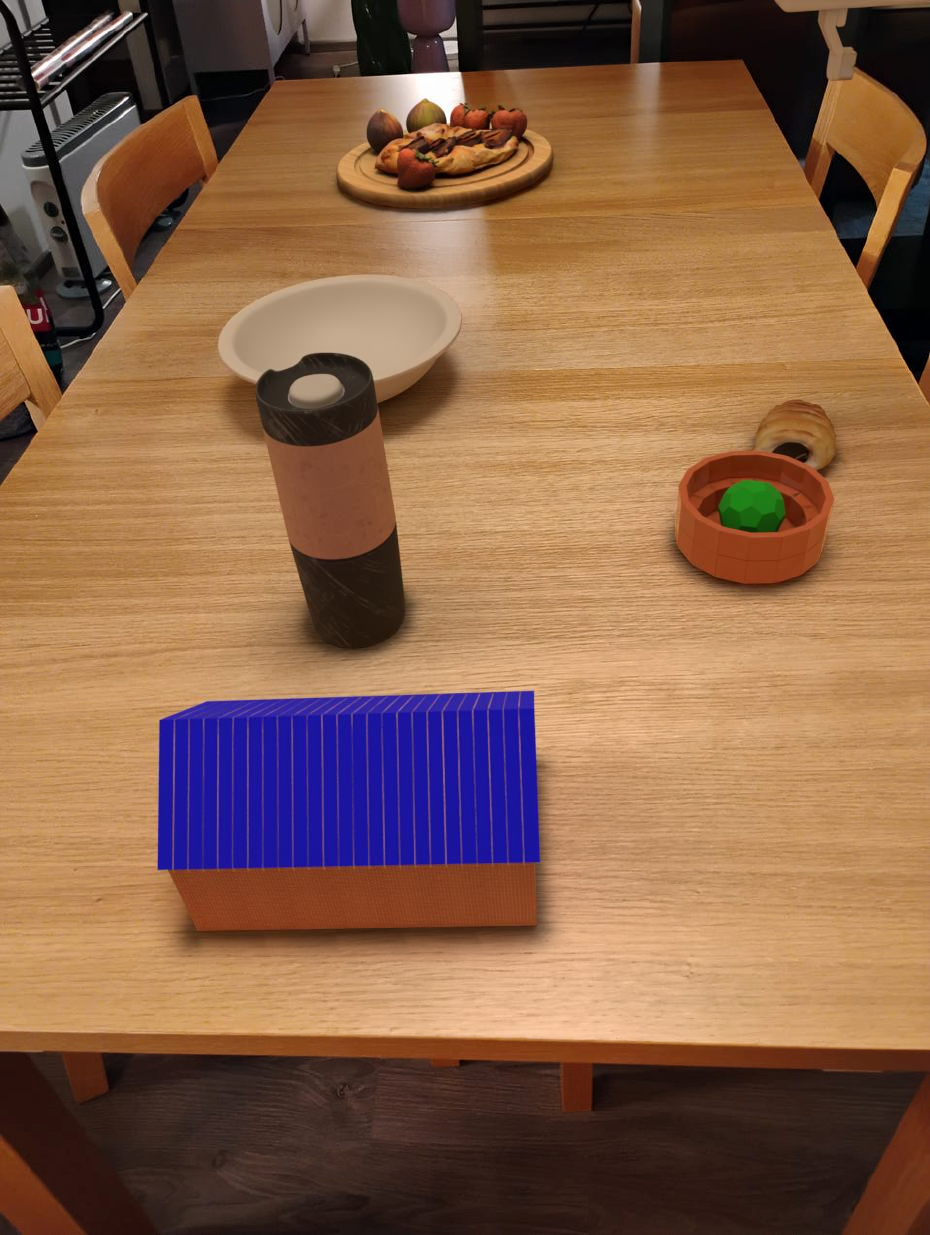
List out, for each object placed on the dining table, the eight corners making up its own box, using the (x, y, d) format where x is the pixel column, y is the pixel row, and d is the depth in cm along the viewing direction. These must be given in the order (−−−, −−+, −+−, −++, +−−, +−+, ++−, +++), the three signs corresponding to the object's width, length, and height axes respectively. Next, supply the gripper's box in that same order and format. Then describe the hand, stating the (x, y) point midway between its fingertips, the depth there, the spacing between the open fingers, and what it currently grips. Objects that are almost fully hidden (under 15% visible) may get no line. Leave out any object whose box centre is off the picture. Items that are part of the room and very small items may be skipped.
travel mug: (397, 654, 72) (358, 413, 59) (297, 648, 73) (235, 411, 60) (418, 585, 78) (385, 351, 64) (324, 580, 79) (273, 350, 65)
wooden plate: (482, 226, 130) (478, 160, 125) (293, 196, 144) (282, 135, 138) (591, 149, 150) (591, 89, 144) (415, 128, 163) (410, 73, 158)
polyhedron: (759, 511, 80) (767, 461, 77) (793, 546, 77) (802, 495, 74) (704, 526, 80) (709, 477, 76) (735, 562, 76) (742, 512, 73)
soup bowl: (263, 476, 91) (247, 413, 86) (211, 364, 107) (196, 306, 103) (504, 409, 96) (500, 346, 92) (419, 313, 113) (413, 256, 109)
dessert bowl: (806, 499, 82) (816, 448, 79) (835, 588, 74) (847, 535, 71) (669, 502, 83) (673, 452, 80) (682, 590, 75) (687, 538, 72)
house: (232, 769, 65) (185, 642, 57) (537, 761, 64) (531, 629, 56) (190, 936, 56) (128, 812, 49) (543, 930, 55) (537, 802, 47)
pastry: (762, 414, 92) (767, 377, 90) (838, 423, 90) (846, 385, 88) (748, 470, 86) (754, 432, 83) (830, 481, 84) (839, 442, 81)
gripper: (793, -156, 59) (763, 96, 68) (1158, -187, 57) (1076, 77, 66) (775, -167, 64) (750, 71, 73) (1113, -196, 62) (1042, 53, 71)
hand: (908, 74), depth 70 cm, fingers open, 8 cm apart
